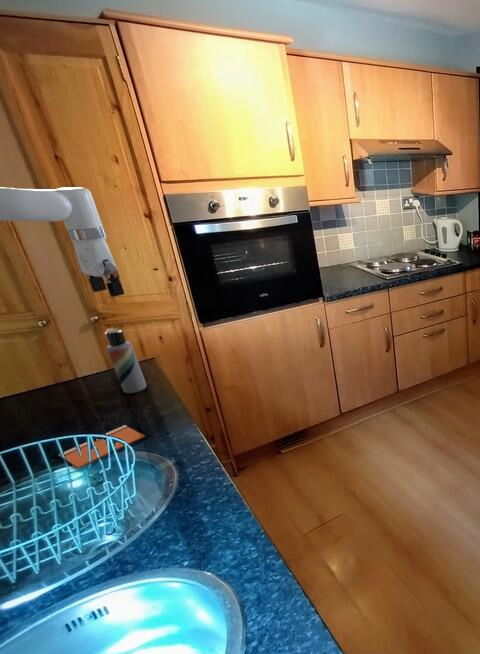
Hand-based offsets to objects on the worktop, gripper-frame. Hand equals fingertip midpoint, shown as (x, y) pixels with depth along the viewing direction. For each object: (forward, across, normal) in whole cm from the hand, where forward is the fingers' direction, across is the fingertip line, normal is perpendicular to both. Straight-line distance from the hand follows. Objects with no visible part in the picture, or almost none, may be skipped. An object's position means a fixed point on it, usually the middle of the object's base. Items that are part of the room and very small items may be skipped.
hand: (108, 293), depth 132 cm
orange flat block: (+30, +28, -22) cm, 47 cm away
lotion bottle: (+30, +3, -3) cm, 30 cm away
